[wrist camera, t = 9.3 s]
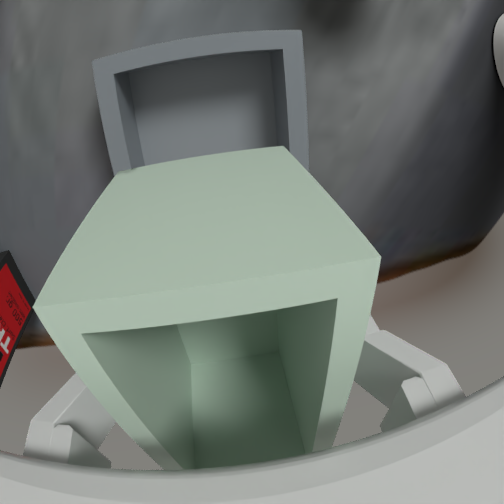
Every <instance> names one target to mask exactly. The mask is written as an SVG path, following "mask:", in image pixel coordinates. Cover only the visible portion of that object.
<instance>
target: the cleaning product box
mask: <svg viewBox="0 0 504 504" xmlns="http://www.w3.org/2000/svg"><path fill="white" fill-rule="evenodd" d="M35 302H36V300H35V299H34V297H33V295H32V293H31V292H30V290H29V288H28V286H27V284H26V283H25V281H24V279H23V277H22V275H21V273H20V271H19V269H18V267H17V265H16V263H15V261H14V259H13V257H12V255H11V253H10V251H9V250H8V251H4V252H1V253H0V387H1V384H2V382H3V379H4V377H5V374H6V371H7V369H8V366H9V364H10V361H11V359H12V356H13V354H14V352H15V349H16V347H17V345H18V342H19V340H20V338H21V336H22V334H23V331H24V329H25V327H26V325H27V323H28V321H29V319H30V317H31V314H32V312H33V310H34V309H33V306H34V304H35Z"/></svg>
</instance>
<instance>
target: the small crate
mask: <svg viewBox="0 0 504 504" xmlns="http://www.w3.org/2000/svg"><path fill="white" fill-rule="evenodd" d="M380 260H381V256H380V255H379V253H378V252H377V251H376V250H375V248H374V247H373V246H372V245H371V243H370V242H369V241H368V240H367V239H366V237H365V236H364V235H363V234H362V233H361V231H360V230H359V229H358V228H357V227H356V225H355V224H354V223H353V222H352V221H351V219H350V218H349V217H348V216H347V215H346V214H345V212H344V211H343V210H342V209H341V208H340V207H339V206H338V204H337V203H336V202H335V201H334V200H333V199H332V198H331V196H330V195H329V194H328V193H327V192H326V191H325V190H324V189H323V187H322V186H321V185H320V184H319V183H318V182H317V181H316V180H315V179H314V178H313V177H312V175H311V174H310V173H309V172H308V171H307V170H306V169H305V168H304V167H303V166H302V165H301V164H300V163H299V162H298V160H297V159H296V158H295V157H294V156H293V155H292V154H291V153H290V152H289V151H288V150H287V149H286V148H285V147H284V146H276V147H266V148H257V149H248V150H240V151H232V152H225V153H218V154H211V155H204V156H198V157H192V158H186V159H180V160H174V161H168V162H163V163H158V164H152V165H147V166H142V167H137V168H133V169H128V170H123V171H119V172H118V173H117V174H116V175H115V177H114V178H113V179H112V181H111V182H110V183H109V185H108V186H107V187H106V189H105V190H104V192H103V193H102V194H101V196H100V197H99V198H98V200H97V201H96V203H95V204H94V206H93V207H92V208H91V210H90V211H89V213H88V214H87V216H86V217H85V219H84V220H83V222H82V223H81V225H80V226H79V228H78V229H77V231H76V233H75V234H74V236H73V237H72V239H71V240H70V242H69V244H68V245H67V247H66V248H65V250H64V252H63V253H62V255H61V257H60V258H59V260H58V262H57V263H56V265H55V267H54V269H53V270H52V272H51V274H50V276H49V277H48V279H47V281H46V283H45V285H44V287H43V288H42V290H41V292H40V294H39V296H38V298H37V300H36V302H35V304H34V306H33V309H34V310H35V312H36V314H37V315H38V317H39V319H40V320H41V322H42V324H43V325H44V327H45V328H46V330H47V331H48V333H49V335H50V336H51V338H52V339H53V341H54V342H55V344H56V345H57V347H58V348H59V350H60V351H61V352H62V354H63V355H64V357H65V358H66V360H67V361H68V362H69V364H70V365H71V367H72V368H73V369H74V371H75V372H76V373H77V375H78V376H79V377H80V379H81V380H82V381H83V382H84V384H85V385H86V386H87V388H88V389H89V390H90V391H91V393H92V394H93V395H94V396H95V398H96V399H97V400H98V401H99V402H100V404H101V405H102V406H103V407H104V408H105V409H106V411H107V412H108V413H109V414H110V415H111V416H112V417H113V419H114V420H115V421H116V422H117V423H118V424H119V425H120V426H121V427H122V428H123V430H124V431H125V432H126V433H127V434H128V435H129V436H130V437H131V438H132V439H133V440H134V441H135V442H136V443H137V444H138V445H139V446H140V447H141V448H142V449H143V450H144V451H145V452H146V453H147V454H148V455H149V456H150V457H151V458H152V459H153V460H154V461H155V462H156V463H157V464H159V465H160V466H161V467H162V468H163V469H164V470H184V469H202V468H215V467H226V466H235V465H243V464H251V463H258V462H264V461H270V460H276V459H282V458H287V457H292V456H297V455H302V454H306V453H311V452H315V451H319V450H323V449H327V448H331V447H332V445H333V442H334V440H335V437H336V434H337V431H338V428H339V425H340V422H341V419H342V416H343V413H344V410H345V407H346V404H347V400H348V397H349V394H350V391H351V387H352V384H353V380H354V377H355V373H356V370H357V366H358V362H359V358H360V355H361V351H362V347H363V343H364V339H365V335H366V330H367V326H368V322H369V317H370V313H371V308H372V303H373V298H374V293H375V288H376V283H377V278H378V272H379V266H380Z"/></svg>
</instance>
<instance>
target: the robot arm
mask: <svg viewBox="0 0 504 504" xmlns="http://www.w3.org/2000/svg"><path fill="white" fill-rule="evenodd" d="M493 47H494V57H495V63H496V68H497V71H498V75H499V78H500V80H501V83H502V85H503V87H504V14H503V15H502V16H501V17H500V18H499V19H498V21H497V23H496V26H495V30H494V39H493ZM354 381H355V382H356V383H358V384H359V385H360V386H361V387H363V388H364V389H365V390H366V391H368V392H369V393H370V394H371V395H373V396H374V397H375V398H376V399H378V400H379V401H380V402H381V403H383V404H384V405H385V406H387V407H388V408H389V410H388V412H387V414H386V416H385V417H384V419H383V421H382V423H381V425H380V427H381V430H382V432H381V433H378V434H375V435H372V436H369V437H366V438H363V439H360V440H356V441H353V442H350V443H346V444H342V445H339V446H335V447H331V448H327V449H323V450H319V451H315V452H311V453H306V454H302V455H297V456H292V457H287V458H282V459H276V460H270V461H264V462H258V463H251V464H243V465H235V466H226V467H215V468H202V469H184V470H129V469H111V461H110V460H109V459H108V458H107V457H106V456H104V455H103V454H102V453H101V452H99V451H98V448H99V447H100V445H101V444H102V442H103V441H104V439H105V437H106V436H107V434H108V433H109V431H110V430H111V428H112V427H113V425H114V424H115V422H116V421H115V420H114V419H113V417H112V416H111V415H110V414H109V413H108V412H107V411H106V409H105V408H104V407H103V406H102V405H101V404H100V402H99V401H98V400H97V399H96V398H95V396H94V395H93V394H92V393H91V391H90V390H89V389H88V388H87V386H86V385H85V384H84V382H83V381H82V380H81V379H80V377H79V376H78V375H77V373H75V374H74V375H73V376H72V377H71V378H70V380H68V381H67V383H66V384H65V385H64V386H63V387H62V388H61V389H60V390H59V391H58V392H57V393H56V394H55V395H54V396H53V397H52V398H51V399H50V400H49V402H48V403H47V404H46V405H45V406H44V407H43V408H42V409H41V410H40V411H39V412H38V414H37V415H35V417H34V418H33V419H32V420H31V423H30V427H29V432H28V435H27V440H26V444H25V449H24V453H23V456H22V455H17V454H13V453H9V452H5V451H1V450H0V504H504V376H503V377H501V378H500V379H498V380H496V381H495V382H493V383H491V384H489V385H488V386H486V387H484V388H482V389H480V390H478V391H476V392H475V393H473V394H471V395H469V396H467V397H466V396H465V394H464V393H463V391H462V389H461V388H460V386H459V384H458V382H457V381H456V379H455V377H454V376H453V374H452V372H451V371H450V369H449V367H448V366H447V364H446V363H444V362H442V361H440V360H439V359H437V358H435V357H433V356H431V355H430V354H428V353H426V352H424V351H422V350H420V349H418V348H417V347H415V346H413V345H411V344H409V343H408V342H406V341H404V340H402V339H401V338H399V337H397V336H395V335H393V334H391V333H389V332H388V331H386V330H379V328H378V326H377V325H376V323H375V321H374V320H373V318H372V316H371V314H370V317H369V322H368V326H367V330H366V335H365V339H364V343H363V347H362V351H361V355H360V358H359V362H358V366H357V370H356V373H355V377H354Z"/></svg>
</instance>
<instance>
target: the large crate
mask: <svg viewBox="0 0 504 504" xmlns="http://www.w3.org/2000/svg"><path fill="white" fill-rule="evenodd" d="M92 66H93V73H94V80H95V86H96V92H97V98H98V103H99V109H100V114H101V119H102V124H103V129H104V134H105V139H106V143H107V148H108V152H109V156H110V161H111V165H112V169H113V173H114V177H115V175H116V174H117V173H118V172H119V171H123V170H128V169H133V168H137V167H142V166H147V165H152V164H158V163H163V162H168V161H174V160H180V159H186V158H192V157H198V156H204V155H211V154H218V153H225V152H232V151H240V150H248V149H257V148H266V147H276V146H284V147H285V148H286V149H287V150H288V151H289V152H290V153H291V154H292V155H293V156H294V157H295V158H296V159H297V160H298V162H299V163H300V164H301V165H302V166H303V167H304V168H305V169H306V170H307V171H308V172H309V148H308V120H307V99H306V81H305V66H304V52H303V40H302V30H264V31H246V32H234V33H223V34H214V35H206V36H199V37H192V38H186V39H180V40H174V41H168V42H163V43H158V44H154V45H149V46H144V47H140V48H136V49H132V50H128V51H124V52H120V53H116V54H113V55H109V56H106V57H103V58H99V59H96V60H93V61H92Z"/></svg>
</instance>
